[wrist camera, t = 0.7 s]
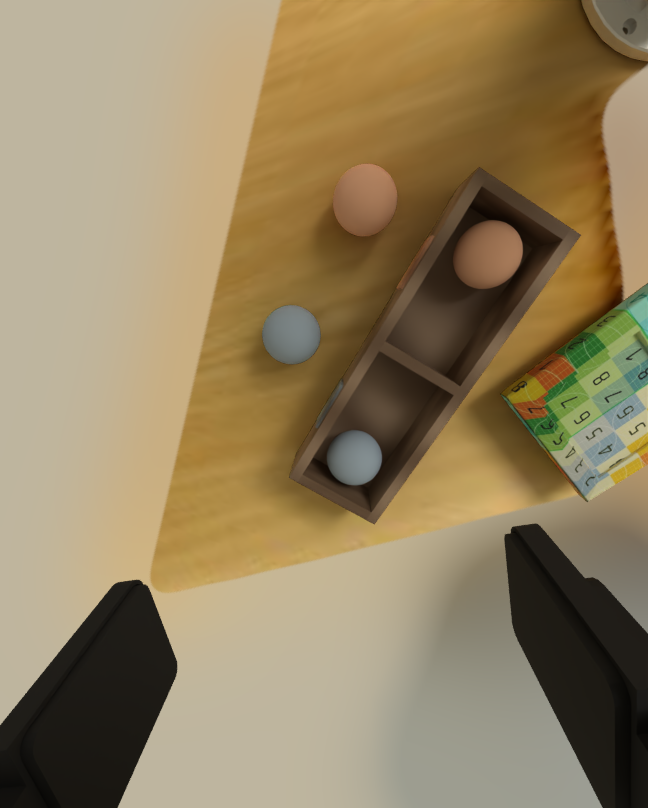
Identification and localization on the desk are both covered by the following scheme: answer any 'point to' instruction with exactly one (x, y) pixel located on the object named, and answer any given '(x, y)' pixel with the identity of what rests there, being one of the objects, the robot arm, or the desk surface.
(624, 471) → the puzzle game
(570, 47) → the desk surface
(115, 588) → the robot arm
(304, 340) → the slate ball
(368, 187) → the terracotta ball
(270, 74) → the desk surface
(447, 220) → the divided wooden box
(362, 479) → the blue-grey ball
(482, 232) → the tan rounded piece
